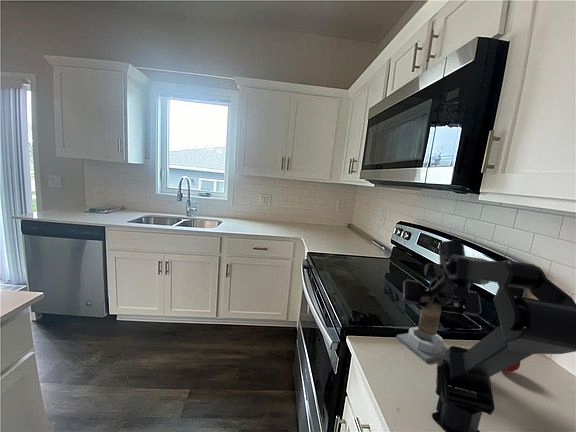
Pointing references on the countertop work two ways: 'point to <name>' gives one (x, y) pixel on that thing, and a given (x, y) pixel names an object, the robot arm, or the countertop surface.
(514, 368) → the onion
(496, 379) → the countertop surface
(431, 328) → the mill
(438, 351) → the dock
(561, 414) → the countertop surface
